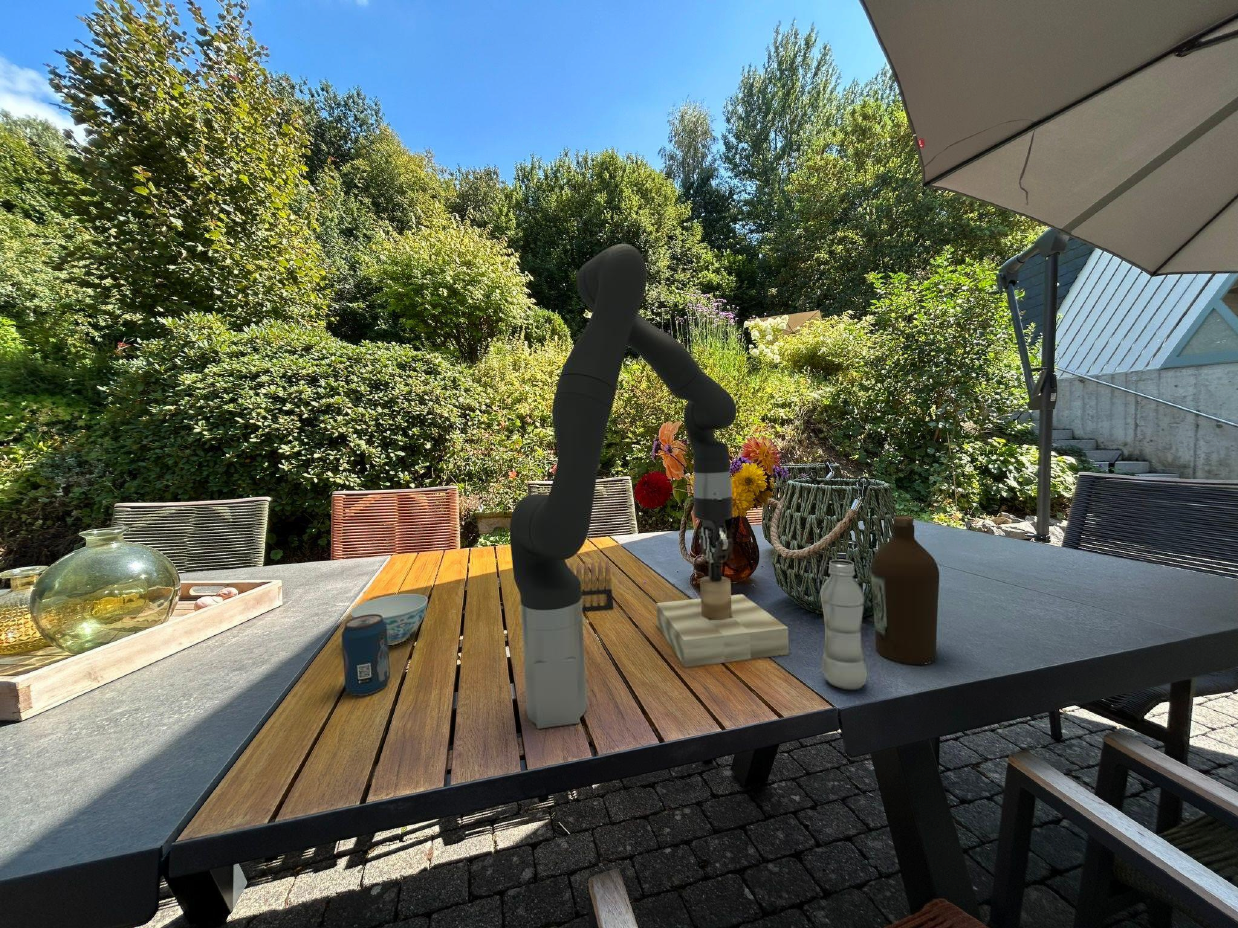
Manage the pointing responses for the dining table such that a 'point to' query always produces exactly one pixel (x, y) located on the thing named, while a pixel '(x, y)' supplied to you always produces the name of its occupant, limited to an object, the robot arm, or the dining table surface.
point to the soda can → (365, 654)
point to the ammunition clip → (595, 587)
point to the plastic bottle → (843, 627)
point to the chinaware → (396, 613)
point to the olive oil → (905, 597)
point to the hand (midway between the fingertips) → (715, 579)
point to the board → (721, 632)
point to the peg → (716, 598)
